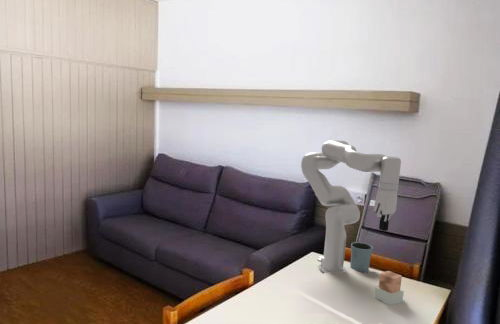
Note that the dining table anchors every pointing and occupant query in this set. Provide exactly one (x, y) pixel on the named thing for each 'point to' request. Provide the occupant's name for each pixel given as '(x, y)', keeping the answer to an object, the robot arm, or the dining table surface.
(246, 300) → the dining table surface
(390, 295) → the base block
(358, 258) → the teal cup
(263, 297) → the dining table surface
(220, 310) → the dining table surface
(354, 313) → the dining table surface
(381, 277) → the top block
